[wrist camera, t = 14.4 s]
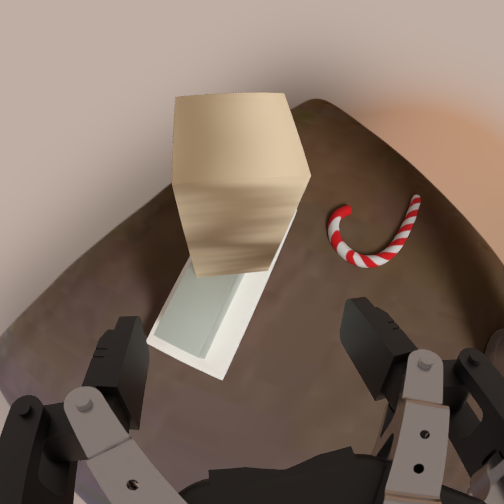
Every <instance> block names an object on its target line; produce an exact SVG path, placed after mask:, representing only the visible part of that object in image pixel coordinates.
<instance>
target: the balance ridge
mask: <svg viewBox="0 0 504 504" xmlns="http://www.w3.org/2000/svg"><path fill="white" fill-rule="evenodd" d="M296 212H297V210H296V211H295V213H294V215H293V217H292V220H291V222H290V224H289V226H288V228H287V231H286V233H285V235H284V237H283V239H282V242H281V244H280V246H279V248H278V250H277V252H276V255H275V257H274V259H273V261H272V263H271V265H270V268H269V270H268V271H261V272H251V273H241V274H231V275H221V276H210V277H199V278H197V277H196V274H195V270H194V267H193V263H192V260H191V256H190V257H189V259H188V260H187V262H186V264H185V266H184V268H183V270H182V272H181V273H180V275H179V277H178V279H177V281H176V283H175V285H174V287H173V289H172V291H171V292H170V294H169V296H168V298H167V300H166V302H165V304H164V306H163V308H162V310H161V312H160V314H159V316H158V318H157V320H156V322H155V324H154V326H153V328H152V330H151V332H150V334H149V336H148V338H147V340H146V342H147V343H148V344H149V345H151V346H153V347H155V348H157V349H159V350H161V351H162V352H164V353H166V354H168V355H170V356H172V357H174V358H176V359H178V360H180V361H182V362H184V363H186V364H188V365H190V366H192V367H194V368H196V369H198V370H201V371H203V372H205V373H207V374H209V375H211V376H214V377H216V378H218V379H220V380H223V378H224V376H225V374H226V372H227V370H228V367H229V365H230V363H231V361H232V359H233V357H234V354H235V352H236V350H237V348H238V346H239V343H240V341H241V339H242V337H243V335H244V332H245V330H246V328H247V326H248V323H249V321H250V319H251V317H252V314H253V312H254V310H255V308H256V305H257V303H258V301H259V299H260V296H261V294H262V292H263V289H264V287H265V285H266V282H267V280H268V278H269V276H270V273H271V271H272V269H273V266H274V264H275V262H276V259H277V257H278V255H279V252H280V250H281V248H282V245H283V243H284V241H285V238H286V236H287V233H288V231H289V229H290V226H291V224H292V221H293V219H294V217H295V214H296Z"/></svg>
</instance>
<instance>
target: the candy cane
mask: <svg viewBox="0 0 504 504" xmlns="http://www.w3.org/2000/svg"><path fill="white" fill-rule="evenodd" d="M420 202H421V198H420V196H419V195H413V197H412V199H411V202H410V205H409V208H408V211H407V214H406V216H405V219H404V221H403V223H402V225H401V227H400V229H399V231H398V233H397V235H396V236H395V238H394V239H393V241H392V242H391V244H390V245H389V246H388V247H387V248H386V249H385V250H383V251H382V252H380V253H378V254H375V255H362V254H359V253H357V252H355V251H353V250H352V249H351V248H349V247H348V246H347V245H346V244H345V242H344V241H343V240H342V238H341V236H340V232H339V222H340V220H341V219H342V218H344V217H345V216H348V215H350V214H351V212H352V209H351V207H350V206H349V205H346V206H343V207H340V208H338V209H337V210H335V211H334V212H333V214H332V215H331V217H330V219H329V222H328V236H329V240H330V243H331V245H332V246H333V248H334V249H335V251H336V252H337V253H338V254H339V255H340V256H341V257H342V258H343V259H345V260H346V261H348V262H349V263H351V264H353V265H356V266H359V267H364V268H371V267H376V266H380V265H382V264H384V263H386V262H387V261H389V260H390V259H392V258H393V257H394V256H395V255H396V254H397V253H398V252H399V250H400V249H401V248H402V246H403V244H404V243H405V241H406V239H407V237H408V235H409V233H410V231H411V229H412V227H413V224H414V222H415V219H416V216H417V213H418V210H419V206H420Z"/></svg>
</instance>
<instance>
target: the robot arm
mask: <svg viewBox="0 0 504 504" xmlns="http://www.w3.org/2000/svg"><path fill="white" fill-rule="evenodd" d="M340 339H341V342H342V345H343V346H344V348H345V350H346V351H347V353H348V355H349V357H350V358H351V360H352V362H353V363H354V365H355V367H356V369H357V370H358V372H359V374H360V375H361V377H362V379H363V381H364V382H365V384H366V386H367V388H368V389H369V391H370V393H371V395H372V396H373V398H374V400H375V401H377V400H381V399H384V398H386V399H387V401H388V403H387V405H386V407H385V411H384V415H383V419H382V423H381V427H380V430H379V434H378V437H377V441H376V443H375V446H374V448H373V450H372V452H371V454H370V455H366V454H354V452H353V450H352V448H351V446H350V447H346V448H343V449H339V450H336V451H332V452H328V453H324V454H320V455H317V456H315V457H313V458H311V459H309V460H307V461H304V462H302V463H300V464H298V465H295V466H293V467H291V468H288V469H285V470H275V469H259V468H248V467H243V468H232V469H218V470H209V478H208V479H204V480H201V481H199V482H196V483H194V484H192V485H190V486H188V487H186V488H185V489H183V490H182V491H180V492H179V493H177V492H176V491H175V490H174V489H173V488H172V487H171V485H170V484H169V483H168V482H167V481H166V480H165V479H164V478H163V476H162V475H161V474H160V473H159V472H158V471H157V469H156V468H155V467H154V466H153V465H152V463H151V462H150V461H149V460H148V458H147V457H146V456H145V455H144V453H143V452H142V451H141V449H140V448H139V447H138V445H137V444H136V443H135V442H134V440H133V439H132V438H131V437H130V436H129V435H128V434H129V429H135V430H139V427H140V419H141V411H142V404H143V397H144V390H145V384H146V378H147V371H148V366H149V349H148V345H147V342H146V338H145V334H144V331H143V327H142V323H141V320H140V317H139V316H127V317H119V319H118V321H117V324H116V327H115V329H114V330H107V331H106V332H105V333H104V335H103V336H102V337H101V338H100V339H99V342H98V344H97V347H96V350H95V352H94V354H93V358H92V360H91V362H90V365H89V368H88V370H87V373H86V376H85V379H84V381H83V384H82V387H79V388H77V389H75V390H73V391H72V392H70V393H69V394H68V395H67V397H66V399H65V401H64V402H62V403H57V404H51V405H44V406H43V404H42V403H41V401H40V400H39V399H38V398H37V397H35V396H32V395H26V396H22V397H20V398H18V399H17V400H16V401H15V402H14V403H13V404H12V406H11V408H10V411H9V414H8V416H7V419H6V422H5V425H4V427H3V430H2V433H1V436H0V504H73V499H74V488H75V479H76V471H77V463H78V460H85V459H86V462H87V464H88V466H89V468H90V470H91V471H92V473H93V475H94V477H95V478H96V480H97V482H98V483H99V485H100V486H101V488H102V490H103V491H104V493H105V494H106V496H107V497H108V499H109V500H110V502H111V503H112V504H504V328H502V329H499V330H497V331H495V332H494V333H493V335H492V336H491V337H490V339H489V341H488V344H487V346H486V350H485V354H483V353H482V352H481V351H479V350H477V349H474V348H465V349H463V350H462V351H461V352H460V354H459V356H458V358H457V359H456V360H441V359H440V357H439V356H438V355H437V354H435V353H433V352H431V351H429V350H423V349H420V350H418V349H417V347H416V346H415V345H414V344H413V343H412V341H411V340H410V339H409V338H408V337H407V335H406V334H405V333H404V332H403V331H402V330H401V329H399V326H398V325H397V324H396V323H394V320H393V319H392V318H391V317H390V316H389V314H388V313H386V312H385V311H383V310H381V309H380V308H378V307H374V306H373V305H372V304H371V302H370V301H369V300H368V299H367V298H366V297H360V298H353V299H348V300H347V301H346V303H345V307H344V313H343V318H342V323H341V328H340ZM471 395H472V396H473V398H474V399H475V400H476V402H477V403H478V405H479V406H480V408H481V409H482V412H483V419H482V421H481V422H480V421H479V419H478V418H477V416H476V415H475V413H474V412H473V410H472V409H471V407H470V406H469V404H468V403H467V400H468V399H469V397H470V396H471ZM448 437H449V439H450V441H451V442H452V444H453V446H454V448H455V450H456V451H457V453H458V455H459V457H460V459H461V461H462V463H463V464H464V466H465V468H466V470H467V472H468V474H469V476H470V478H471V481H470V487H469V488H468V490H467V494H465V493H462V492H460V491H457V490H454V489H452V488H449V487H447V486H444V485H442V480H443V474H444V467H445V460H446V452H447V443H448Z"/></svg>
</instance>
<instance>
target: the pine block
mask: <svg viewBox="0 0 504 504" xmlns="http://www.w3.org/2000/svg"><path fill="white" fill-rule="evenodd" d="M310 177H311V174H310V171H309V168H308V164H307V161H306V158H305V154H304V151H303V148H302V145H301V142H300V139H299V135H298V132H297V129H296V126H295V123H294V120H293V117H292V115H291V112H290V109H289V106H288V103H287V100H286V98H285V95H284V93H222V94H205V95H193V96H181V97H175V113H174V131H173V155H172V187H173V191H174V195H175V199H176V203H177V207H178V211H179V215H180V219H181V223H182V227H183V231H184V234H185V238H186V242H187V245H188V249H189V253H190V256H191V260H192V263H193V267H194V270H195V274H196V277H197V278H199V277H210V276H221V275H231V274H241V273H251V272H261V271H268V270H269V268H270V265H271V263H272V261H273V259H274V257H275V255H276V252H277V250H278V248H279V246H280V244H281V242H282V239H283V237H284V235H285V233H286V231H287V228H288V226H289V224H290V222H291V220H292V217H293V215H294V213H295V211H296V208H297V206H298V204H299V202H300V200H301V197H302V195H303V193H304V191H305V188H306V186H307V184H308V182H309V179H310Z"/></svg>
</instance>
